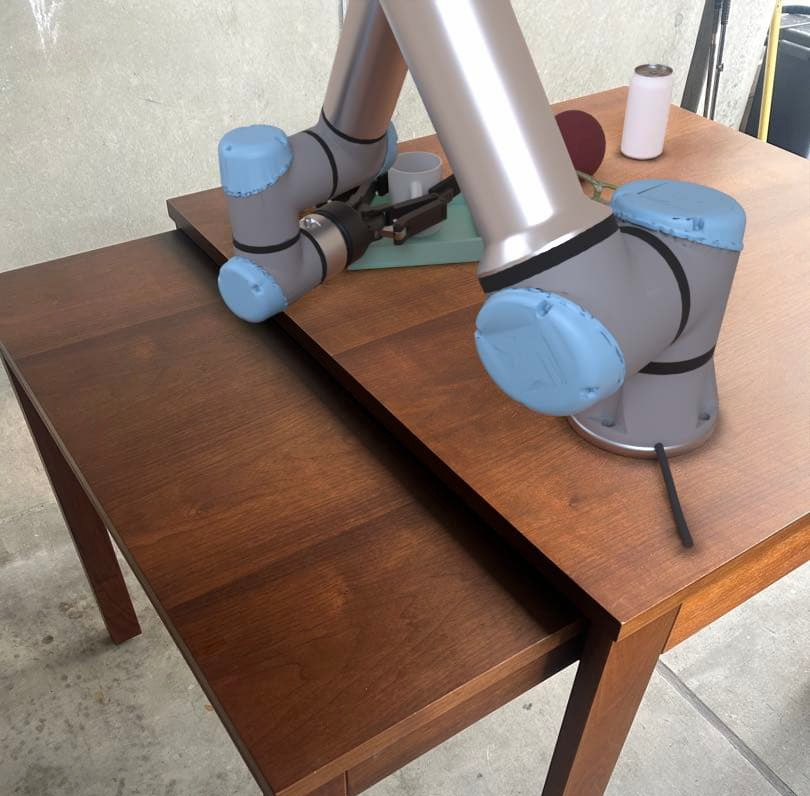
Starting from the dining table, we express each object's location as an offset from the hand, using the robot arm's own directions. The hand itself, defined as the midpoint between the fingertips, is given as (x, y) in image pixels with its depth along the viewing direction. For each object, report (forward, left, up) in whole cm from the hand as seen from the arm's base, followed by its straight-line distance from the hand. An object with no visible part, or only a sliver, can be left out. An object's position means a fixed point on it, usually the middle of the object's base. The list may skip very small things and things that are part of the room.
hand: (432, 175), depth 117 cm
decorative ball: (+10, -21, -2) cm, 24 cm away
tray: (-4, +3, -7) cm, 8 cm away
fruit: (-22, -17, -7) cm, 28 cm away
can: (+19, -35, -7) cm, 41 cm away
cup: (-4, +3, -6) cm, 8 cm away
